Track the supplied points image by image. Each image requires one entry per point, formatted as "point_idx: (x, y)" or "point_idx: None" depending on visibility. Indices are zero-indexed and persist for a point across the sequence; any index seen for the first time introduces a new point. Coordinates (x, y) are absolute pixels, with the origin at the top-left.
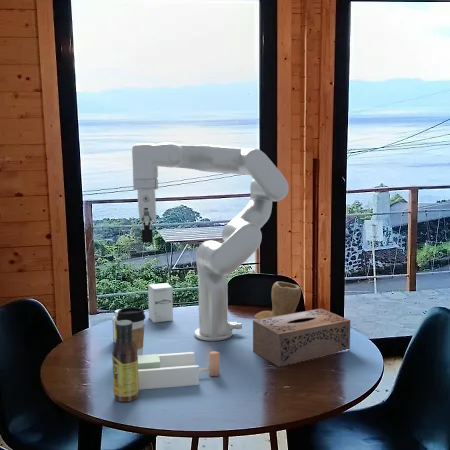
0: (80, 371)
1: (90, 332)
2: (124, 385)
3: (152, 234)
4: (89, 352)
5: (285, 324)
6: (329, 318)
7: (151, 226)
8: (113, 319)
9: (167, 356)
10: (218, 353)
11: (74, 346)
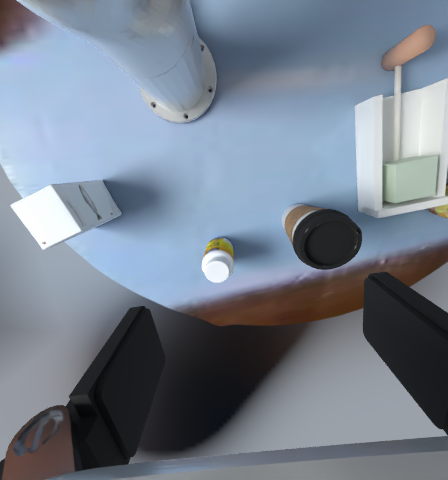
0: (338, 277)
1: (181, 301)
2: None
3: (436, 305)
4: (267, 283)
5: None
6: None
7: (108, 381)
8: (228, 276)
9: (381, 149)
10: (429, 27)
11: (242, 307)
